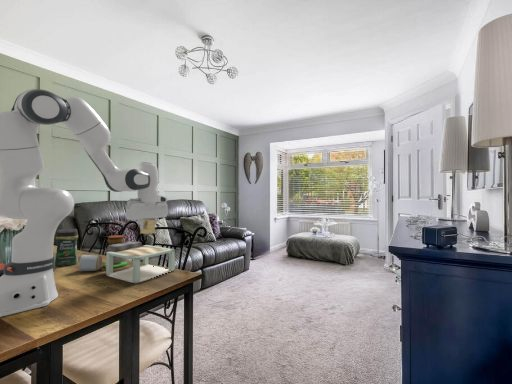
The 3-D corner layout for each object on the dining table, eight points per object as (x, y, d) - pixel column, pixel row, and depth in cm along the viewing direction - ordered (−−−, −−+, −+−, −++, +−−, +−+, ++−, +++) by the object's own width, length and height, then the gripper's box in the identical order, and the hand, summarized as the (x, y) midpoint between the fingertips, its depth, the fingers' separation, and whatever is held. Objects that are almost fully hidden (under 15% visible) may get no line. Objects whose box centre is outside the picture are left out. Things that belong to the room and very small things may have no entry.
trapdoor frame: (135, 283, 110) (135, 258, 110) (106, 275, 121) (106, 252, 121) (174, 271, 128) (174, 249, 129) (146, 265, 139) (146, 244, 139)
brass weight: (147, 234, 120) (147, 220, 120) (140, 233, 122) (140, 220, 122) (154, 233, 123) (155, 219, 123) (147, 232, 126) (147, 219, 126)
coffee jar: (53, 267, 134) (53, 230, 134) (57, 263, 141) (57, 228, 141) (76, 265, 138) (76, 229, 139) (78, 261, 145) (79, 227, 146)
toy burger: (95, 266, 136) (96, 237, 136) (118, 261, 147) (119, 234, 147) (110, 269, 130) (110, 239, 130) (133, 264, 141) (133, 235, 142)
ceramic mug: (97, 272, 126) (98, 255, 127) (78, 273, 124) (78, 256, 124) (104, 266, 137) (104, 251, 137) (86, 267, 134) (86, 252, 135)
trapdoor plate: (137, 263, 114) (137, 251, 114) (105, 256, 126) (105, 245, 126) (167, 255, 128) (167, 245, 128) (135, 250, 140) (135, 240, 140)
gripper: (131, 198, 112) (131, 231, 112) (169, 198, 130) (169, 226, 130) (122, 198, 115) (122, 230, 115) (161, 198, 133) (160, 225, 133)
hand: (147, 228), depth 123 cm, fingers closed on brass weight, 4 cm apart
